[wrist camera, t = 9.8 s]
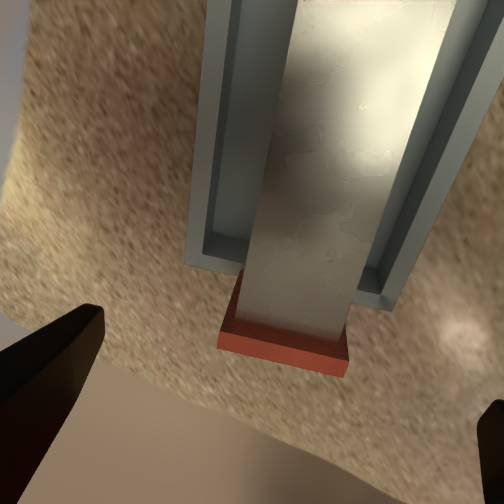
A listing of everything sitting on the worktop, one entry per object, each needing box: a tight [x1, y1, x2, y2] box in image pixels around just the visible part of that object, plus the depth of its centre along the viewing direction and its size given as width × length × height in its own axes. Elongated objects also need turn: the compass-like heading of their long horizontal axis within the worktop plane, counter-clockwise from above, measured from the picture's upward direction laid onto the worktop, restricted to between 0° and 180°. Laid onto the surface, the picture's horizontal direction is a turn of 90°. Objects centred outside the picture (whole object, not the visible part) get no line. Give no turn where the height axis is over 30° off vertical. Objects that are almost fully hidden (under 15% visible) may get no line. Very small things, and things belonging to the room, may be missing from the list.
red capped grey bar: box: [217, 0, 457, 378], centre depth 14 cm, size 16×5×5 cm, turn 171°
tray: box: [184, 0, 504, 312], centre depth 15 cm, size 20×10×3 cm, turn 171°
